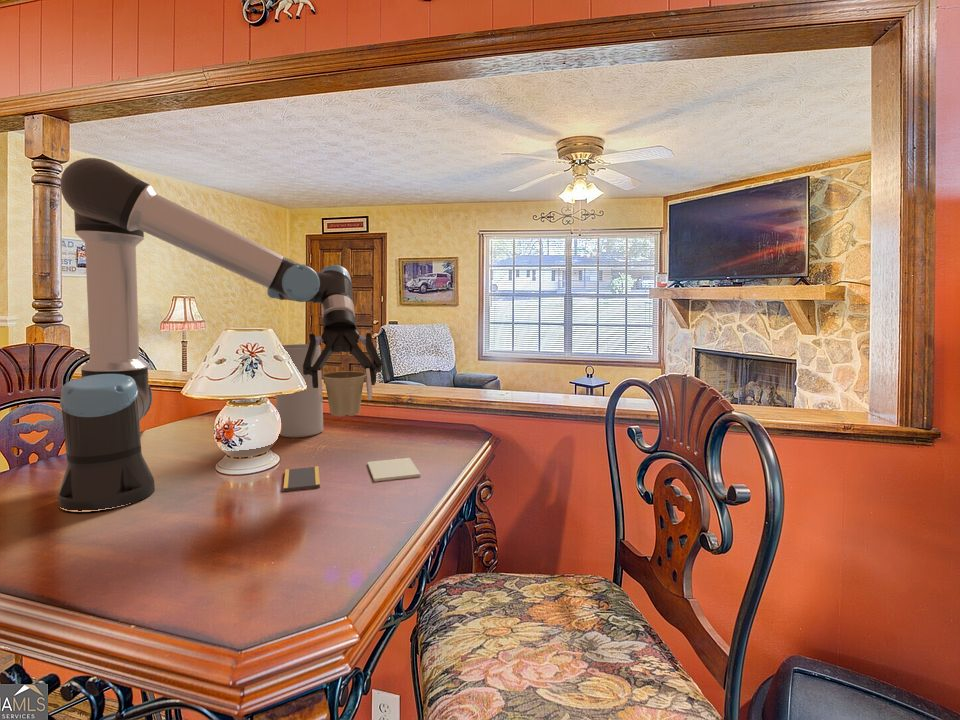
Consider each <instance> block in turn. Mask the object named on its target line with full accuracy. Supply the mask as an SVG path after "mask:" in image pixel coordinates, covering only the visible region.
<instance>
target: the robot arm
mask: <svg viewBox="0 0 960 720" xmlns="http://www.w3.org/2000/svg"><path fill="white" fill-rule="evenodd" d="M59 187H60V192H61V194H62V197H63V200H64V201H65V202H66V204H68V206H69V207H70V208H71V210H73V212H74V214H73V215H74V216H73V217H74V233H75V235H77V236H78V237H79V238H80V239H81V240H82V241H83V242H84V245H85V247H84V250H85V270H86V271H85V273H86V275H85V276H86V293H87V294H86V296H87V297H86V298H87V315H88V316H87V317H88V320H87V321H88V339H89V340H88V342H89V360H88V361H87V362H86V363H84V364H83V365H82V366H81V368H80V370H81V375H80V376H81V377H77V378H74V379H72V380H69V381H68V382H66V383H64V385H63V386H61V390H60V399H59V403H60V408H61V415H62V425H63V433H64V434H63V435H64V443H65V455H66V468H65V472H64V475H63V478H62V482H61V485H60V488H59V492H58V495H57V498H58V500H57V501H58V507H59V506H60V507H61V508H64V509H67V510H78V511H82V510H98V509H105V508H112V507H117V506H121V505H126V504H129V503H133V502H136V501H138V502H140V501H139V500H141V499H143V498H145V499H147V498H148V497H147V496H149V495H150V496H151V495H153V493H155V491H154V490H156V489H155V487H156V486H155V478H154V476H153V474H152V471H151V470H150V468H149V465H148V464H147V461H146V460H145V457H144V456H143V453H142V441H141V430H140V429H141V428H140V421H141V420H142V419H143V418H144V417H145V416H146V415H147V413H148V412H149V411H150V408H151V406H152V402H153V391H152V388H151V387H150V384H149V370H148V368H149V367H148V364H146V362H144V361H143V360H141V358H140V344H139V343H140V342H139V341H140V340H139V314H138V313H139V308H138V306H139V305H138V280H137V279H138V278H137V252H136V251H137V248H136V247H137V246H138V245H139V244H140V243H141V242H142V241H143V240H145V233H146V234H148V235H150V236H152V237H154V238H157V239H159V240H162V241H163V242H165V243H168V244H170V245H171V246H172V245H173V246H174V247H177V248H179V249H181V250H184V251H185V252H188V253H189V254H193V255H194V256H197V257H199V258H201V259H203V260H205V261H208V262H209V263H212V264H214V265H216V266H219V267H221V268H224V269H225V270H228V271H229V272H232V273H235V274H237V275H239V276H240V277H243V278H245V279H247V280H249V281H252V282H254V283H256V284H259V285H260V286H263V287H265V288H267V290H266V291H267V296H268V297H269V298H271V299H277V300H280V301H284V300H286V301H293V302H298V303H304V302H305V303H313V304H321V317H322V318H321V319H322V334H320V335H316V334H314V333H310V334H309V335H308V336H309V340H308V341H309V348H308V351H307V354H306V357H305V361H304V364H303V374H304V375H308V374H309V375H311V376H312V386H313V388H318V394H319V403H322V404H323V403H324V400H323V399H324V396H323V393H324V392H323V378H322V374H323V373H322V370H323V369H324V366H325V365H326V364H327V362H328V360H329V359H330V357H331V356H332V355H333V354H334V353H341V352H342V353H350V355H351V356H353V357H354V358H355V359H356V360H357V362H358V363H359V364H360V365H361V366H362V367H363V369H364V371H365V373H366V374H367V376H366V377H365V387H366V394H367V400H368V401H372V400H373V387H372V386H375V385H376V380H377V379H376V373H381V372H382V368H383V362H382V360H381V357H380V355H379V354H378V352H377V350H376V347H375V345H374V343H373V341H372V333H370V332H366V334H365V335H364V334H360V333H359V332H358V329H357V321H356V313H355V312H356V311H355V305H354V297H353V283H352V279H351V276H350V273H349V271H348V270H347V269H346V268H345V267H343V266H341V265H338V264H332V265H326V266H325V267H324V268H322V269H321V270H320V271H316V270H314V269H313V268H312V267H310V266H308V265H306V264H300V263H298V262H295V261H294V260H292V259H290V258H287V257H285V256H283V254H280V253H278V252H276V251H274V250H271V249H270V248H268V247H265V246H263V245H261V244H259V243H257V242H255V241H253V240H251V239H249V238H247V237H245V236H243V235H242V234H239V233H237V232H235V231H233V230H231V229H229V228H227V227H224V226H223V225H220V224H218V223H217V222H214V221H212V220H210V219H208V218H206V217H204V216H202V215H200V214H198V213H196V212H194V211H192V210H190V209H188V208H186V207H184V206H183V205H180V204H178V203H176V202H174V201H171V200H169V199H168V198H166V197H163V196H162V195H160V194H158V193H157V191H155V188H154V187H153V185H151V184H149V183H147V182H146V181H143V180H141V179H139V178H138V177H136V176H134V175H132V174H131V173H129V172H127V170H124V169H122V168H121V167H120V166H119V165H116V164H115V163H113V162H111V161H108V160H105V159H103V158H102V159H101V158H96V157H86V158H80V159H77V160H74V161H73V162H71V163H70V164H69V165H67V167H66V168H65V169H64V171H63V172H62V173H61V177H60V186H59ZM359 341H360V342H361V344H362V345H363V346H365V347H364V348H365V350H366V352H367V354H368V356H369V357H368V356H367V355H366V353H365V352H364V351H363V350H362V349H361V348H360V347H359V344H358V343H359ZM321 342H322V343H323V344H324V349H323V350H321V351H322V352H321V354H320V356H319V357H318V359H317V361H316V362H315V364H314V365H313V367H311V365H312V361H313V358H314V354H315V351H316V347H317V346H318V345H320V343H321ZM369 358H370V359H369ZM150 496H149V497H150ZM146 497H147V498H146ZM143 500H144V499H143ZM141 501H142V500H141ZM136 503H137V502H136ZM133 504H134V503H133Z"/></svg>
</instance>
